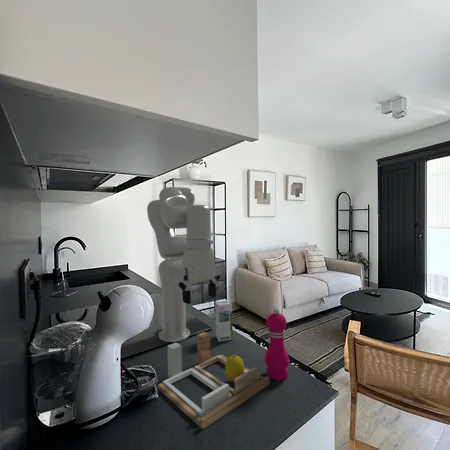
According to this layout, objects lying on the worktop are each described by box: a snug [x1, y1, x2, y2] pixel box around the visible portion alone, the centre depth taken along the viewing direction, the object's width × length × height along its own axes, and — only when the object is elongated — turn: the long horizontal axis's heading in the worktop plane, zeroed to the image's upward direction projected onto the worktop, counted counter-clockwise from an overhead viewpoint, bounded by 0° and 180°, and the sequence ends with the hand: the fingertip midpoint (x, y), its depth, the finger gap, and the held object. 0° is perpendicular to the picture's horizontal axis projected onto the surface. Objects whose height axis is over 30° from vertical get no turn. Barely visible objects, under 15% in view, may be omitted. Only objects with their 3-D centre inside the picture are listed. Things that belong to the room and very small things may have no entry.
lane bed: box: [157, 354, 270, 430], centre depth 75 cm, size 20×24×2 cm
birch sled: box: [193, 331, 260, 396], centre depth 81 cm, size 21×10×9 cm, turn 42°
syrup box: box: [214, 299, 234, 343], centre depth 106 cm, size 6×6×14 cm
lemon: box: [224, 354, 245, 384], centre depth 77 cm, size 6×6×8 cm
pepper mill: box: [264, 308, 290, 381], centre depth 80 cm, size 7×7×20 cm
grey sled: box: [162, 342, 232, 418], centre depth 73 cm, size 21×10×9 cm, turn 42°
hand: (200, 299), depth 83 cm, fingers open, 9 cm apart
